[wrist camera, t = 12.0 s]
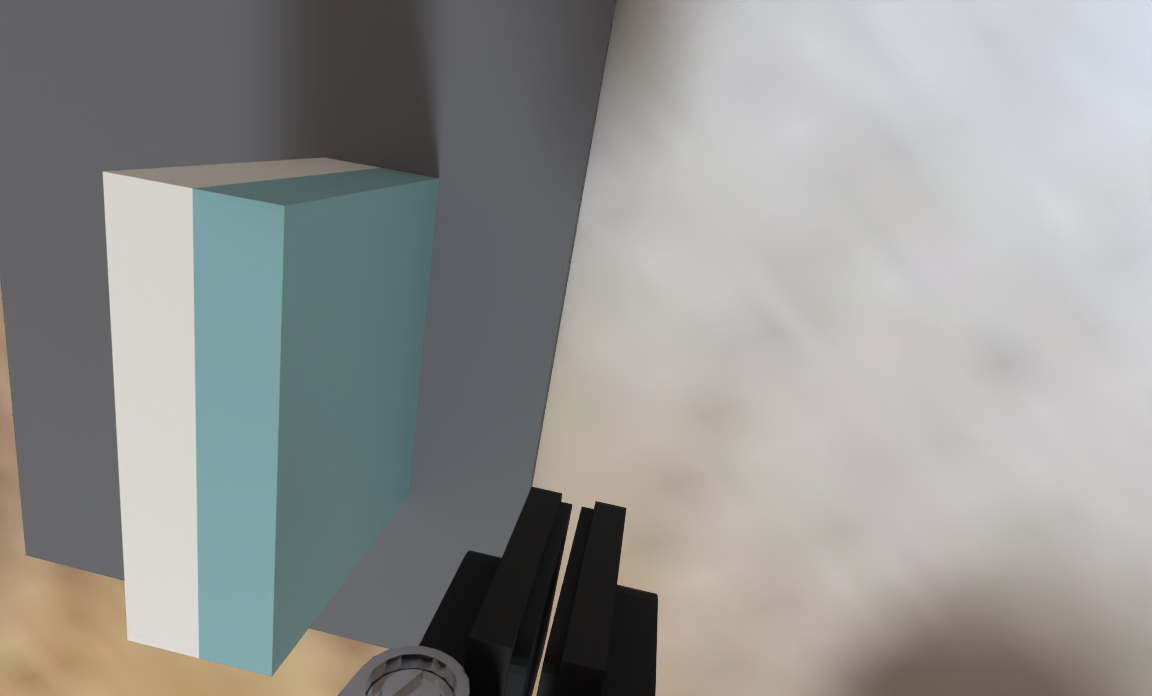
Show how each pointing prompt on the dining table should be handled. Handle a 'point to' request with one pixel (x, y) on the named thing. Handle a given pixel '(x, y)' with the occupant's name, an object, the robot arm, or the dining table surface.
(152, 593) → the card deck
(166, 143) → the mat
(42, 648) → the dining table surface
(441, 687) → the robot arm
